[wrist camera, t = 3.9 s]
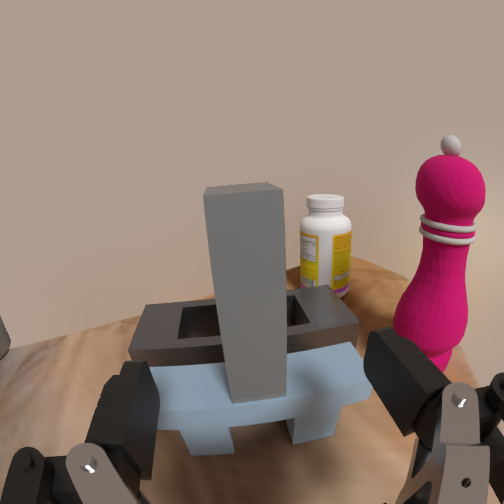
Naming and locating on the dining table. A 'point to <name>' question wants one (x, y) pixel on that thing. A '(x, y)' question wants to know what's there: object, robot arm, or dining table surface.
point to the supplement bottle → (325, 244)
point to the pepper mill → (442, 254)
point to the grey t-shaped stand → (255, 339)
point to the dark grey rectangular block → (209, 337)
